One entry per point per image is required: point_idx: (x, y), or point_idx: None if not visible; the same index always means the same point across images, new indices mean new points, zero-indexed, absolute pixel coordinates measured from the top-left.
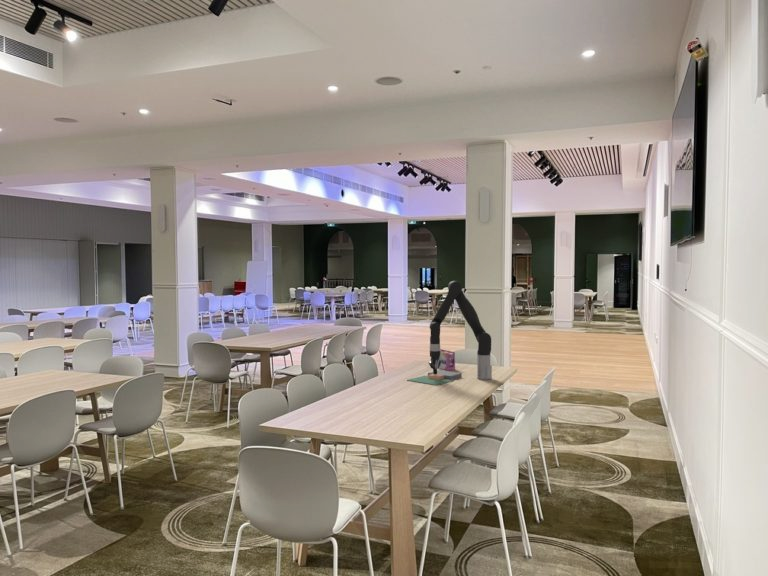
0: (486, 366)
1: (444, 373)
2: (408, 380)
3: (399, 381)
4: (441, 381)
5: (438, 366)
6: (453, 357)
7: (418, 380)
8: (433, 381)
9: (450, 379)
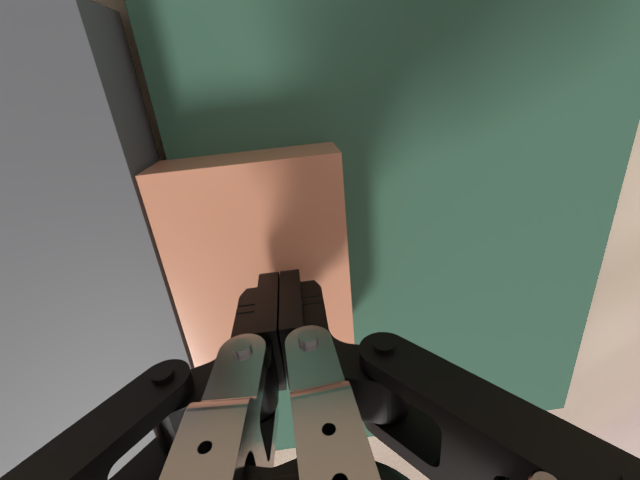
0: None
1: (13, 295)
2: (565, 387)
3: (621, 415)
4: (394, 6)
5: (171, 387)
6: None
7: (527, 314)
8: (477, 121)
9: (110, 9)
